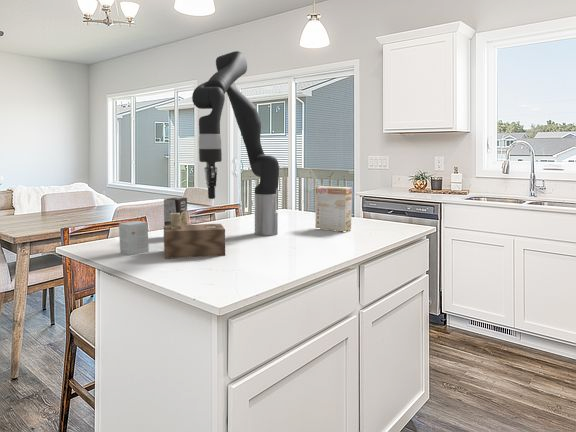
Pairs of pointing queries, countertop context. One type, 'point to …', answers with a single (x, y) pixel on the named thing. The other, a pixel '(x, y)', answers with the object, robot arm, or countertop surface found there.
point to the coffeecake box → (333, 208)
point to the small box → (133, 237)
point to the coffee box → (175, 210)
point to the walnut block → (194, 241)
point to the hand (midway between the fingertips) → (211, 198)
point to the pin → (175, 220)
